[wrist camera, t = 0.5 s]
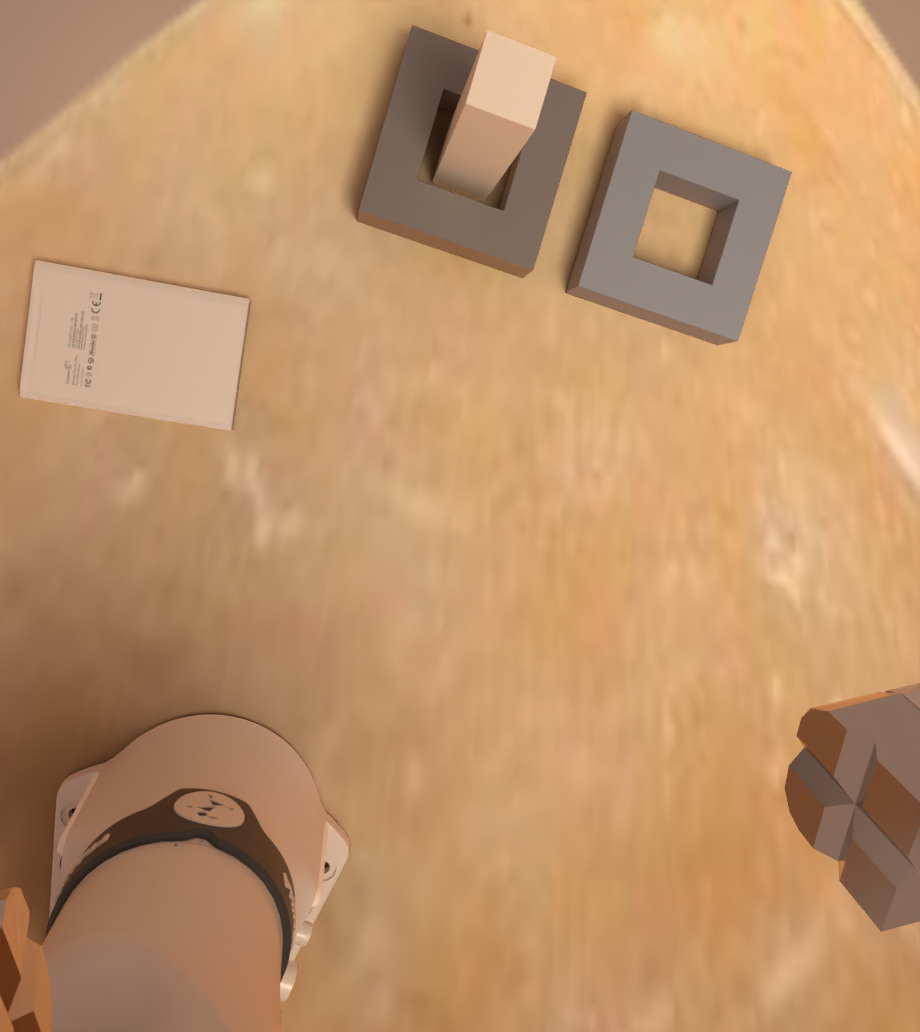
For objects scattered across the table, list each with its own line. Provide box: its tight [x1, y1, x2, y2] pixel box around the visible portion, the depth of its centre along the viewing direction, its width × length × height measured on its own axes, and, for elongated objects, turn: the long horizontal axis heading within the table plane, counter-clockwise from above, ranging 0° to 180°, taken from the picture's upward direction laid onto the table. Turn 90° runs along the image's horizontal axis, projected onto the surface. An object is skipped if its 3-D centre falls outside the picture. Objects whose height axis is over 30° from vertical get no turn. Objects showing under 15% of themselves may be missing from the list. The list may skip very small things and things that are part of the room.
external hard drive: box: [19, 260, 251, 431], centre depth 53 cm, size 2×8×12 cm
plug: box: [432, 30, 557, 202], centre depth 48 cm, size 4×4×14 cm
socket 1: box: [357, 25, 586, 278], centre depth 54 cm, size 11×11×3 cm
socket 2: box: [566, 110, 792, 345], centre depth 56 cm, size 11×11×3 cm
